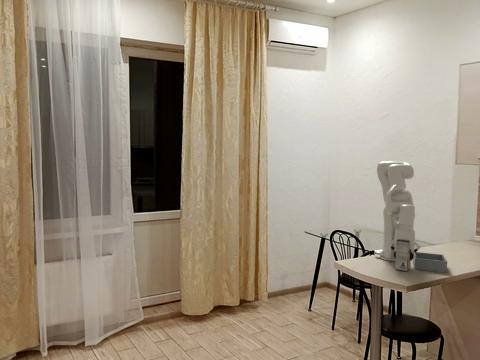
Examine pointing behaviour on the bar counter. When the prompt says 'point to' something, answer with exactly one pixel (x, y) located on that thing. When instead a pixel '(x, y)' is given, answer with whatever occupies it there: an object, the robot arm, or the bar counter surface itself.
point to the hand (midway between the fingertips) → (403, 259)
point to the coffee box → (403, 255)
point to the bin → (430, 262)
